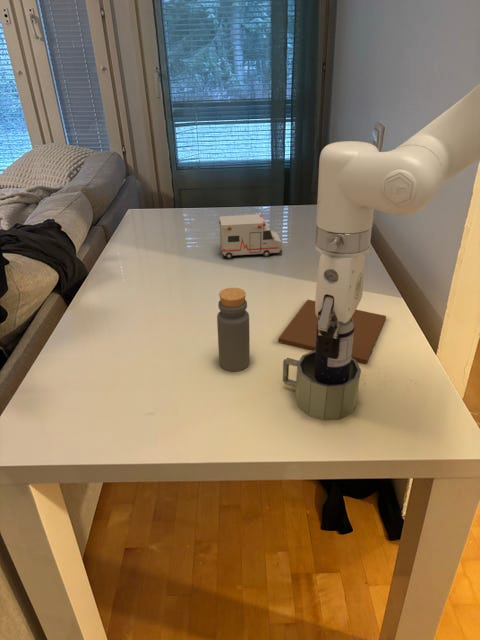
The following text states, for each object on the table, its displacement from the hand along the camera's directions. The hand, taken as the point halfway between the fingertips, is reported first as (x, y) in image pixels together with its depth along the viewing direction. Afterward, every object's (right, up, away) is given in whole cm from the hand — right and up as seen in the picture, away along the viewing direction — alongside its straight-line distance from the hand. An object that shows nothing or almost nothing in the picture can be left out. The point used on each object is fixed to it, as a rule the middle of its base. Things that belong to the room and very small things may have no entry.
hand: (334, 344), depth 74 cm
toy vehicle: (-12, +23, +62) cm, 67 cm away
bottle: (-16, -4, +16) cm, 23 cm away
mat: (+5, +2, +25) cm, 25 cm away
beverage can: (0, -6, +4) cm, 7 cm away
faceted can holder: (-1, -9, +7) cm, 12 cm away
